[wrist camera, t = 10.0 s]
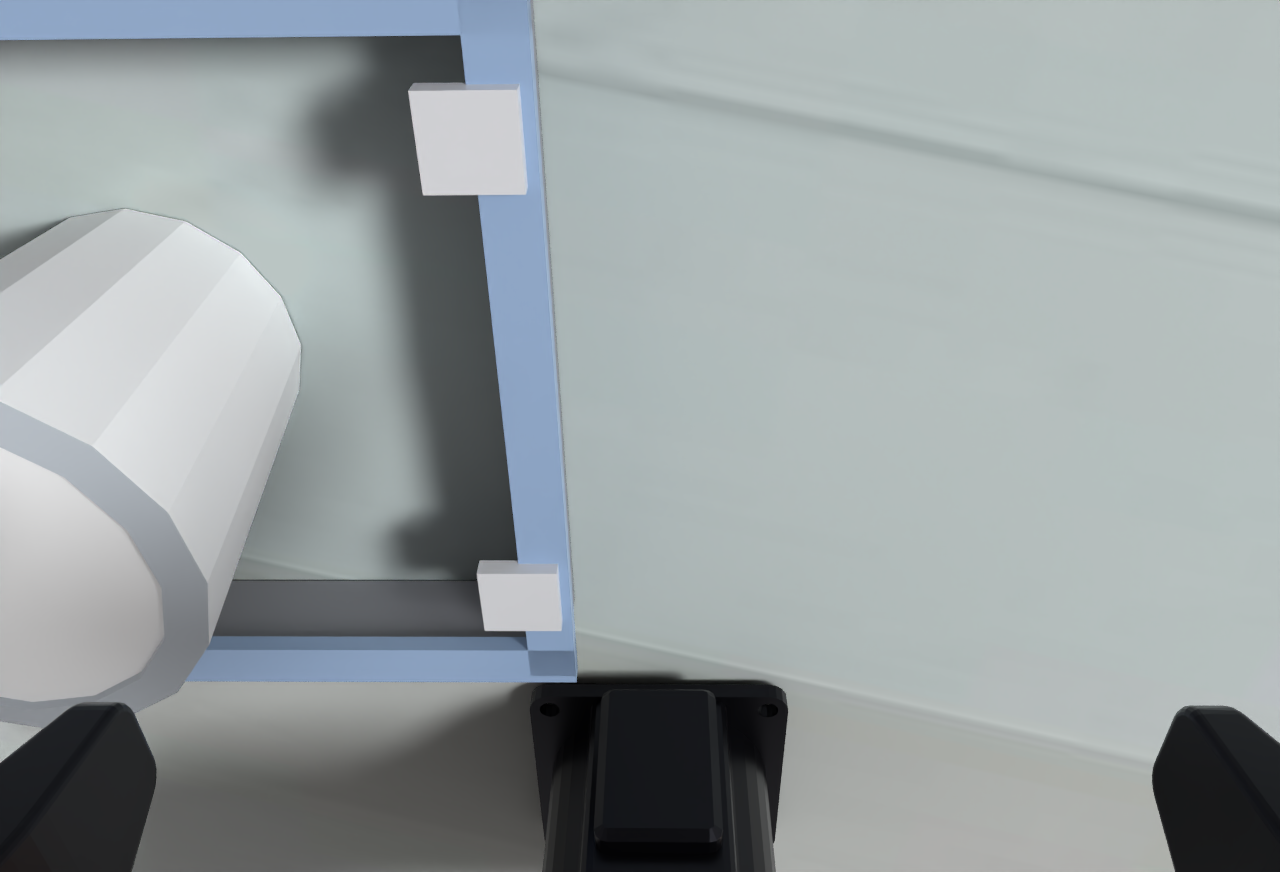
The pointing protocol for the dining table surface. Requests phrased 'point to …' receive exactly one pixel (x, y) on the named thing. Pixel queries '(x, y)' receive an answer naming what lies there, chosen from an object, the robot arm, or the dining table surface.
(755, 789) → the robot arm
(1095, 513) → the dining table surface
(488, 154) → the two-slot open tray
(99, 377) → the light grey cup
